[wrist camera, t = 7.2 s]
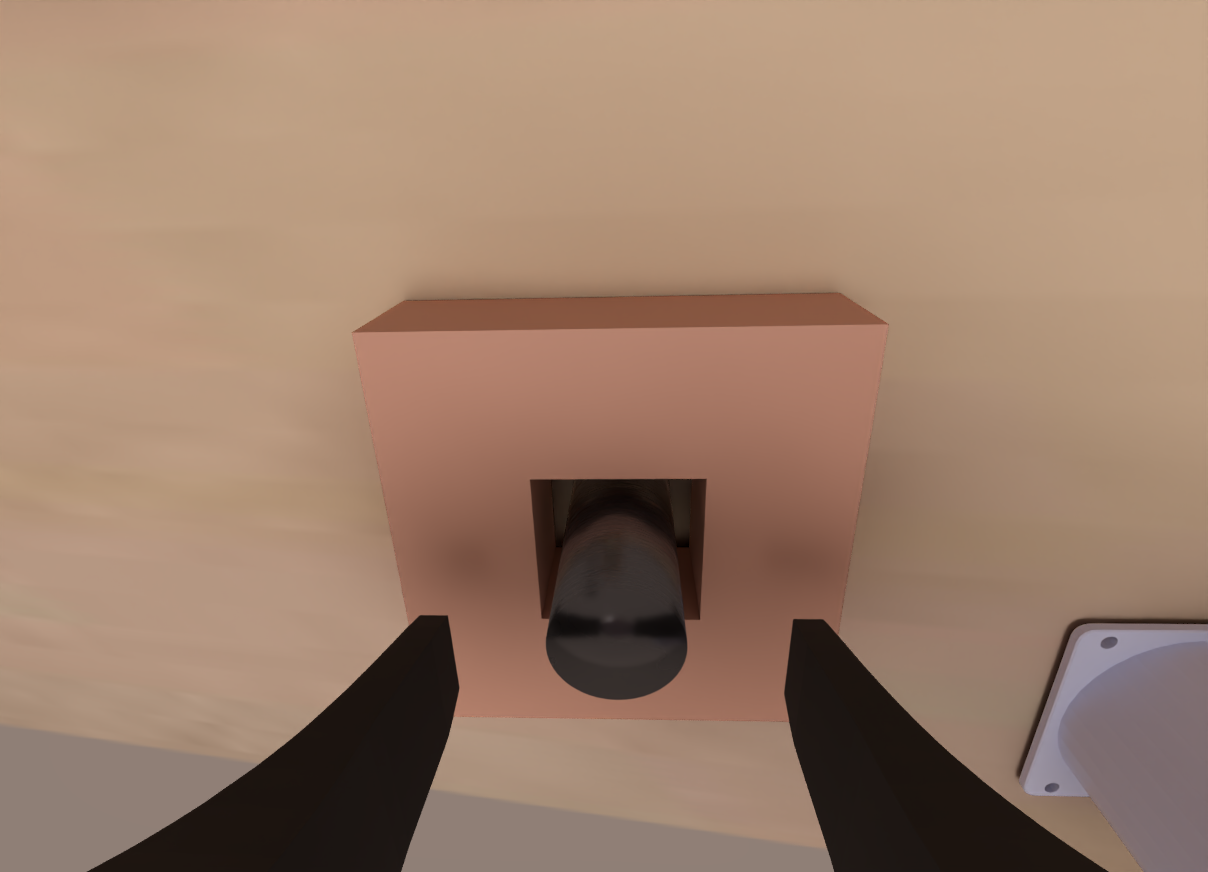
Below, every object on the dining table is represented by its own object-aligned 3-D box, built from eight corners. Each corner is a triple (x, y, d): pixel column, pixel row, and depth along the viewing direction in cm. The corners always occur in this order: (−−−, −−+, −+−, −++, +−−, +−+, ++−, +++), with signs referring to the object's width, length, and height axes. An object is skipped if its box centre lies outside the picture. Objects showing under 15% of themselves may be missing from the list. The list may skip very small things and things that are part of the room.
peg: (670, 444, 19) (689, 590, 12) (668, 528, 20) (685, 700, 14) (571, 444, 19) (541, 589, 13) (576, 528, 20) (550, 699, 14)
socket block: (839, 292, 17) (888, 324, 14) (795, 638, 22) (823, 722, 18) (403, 300, 17) (351, 333, 14) (456, 635, 22) (426, 716, 19)
